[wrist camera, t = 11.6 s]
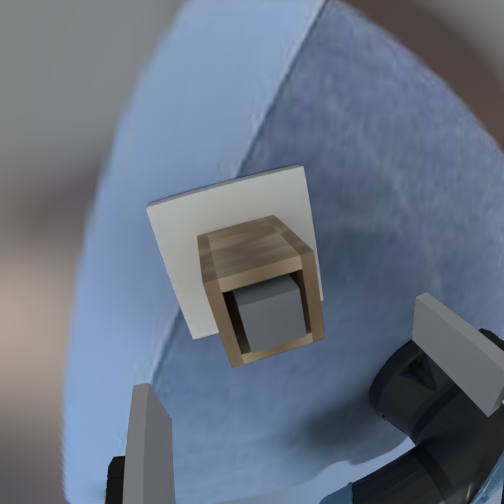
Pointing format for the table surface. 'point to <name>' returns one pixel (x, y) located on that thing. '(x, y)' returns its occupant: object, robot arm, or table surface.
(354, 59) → the table surface
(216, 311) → the collar
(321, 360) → the table surface
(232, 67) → the table surface
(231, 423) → the table surface
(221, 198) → the post board
